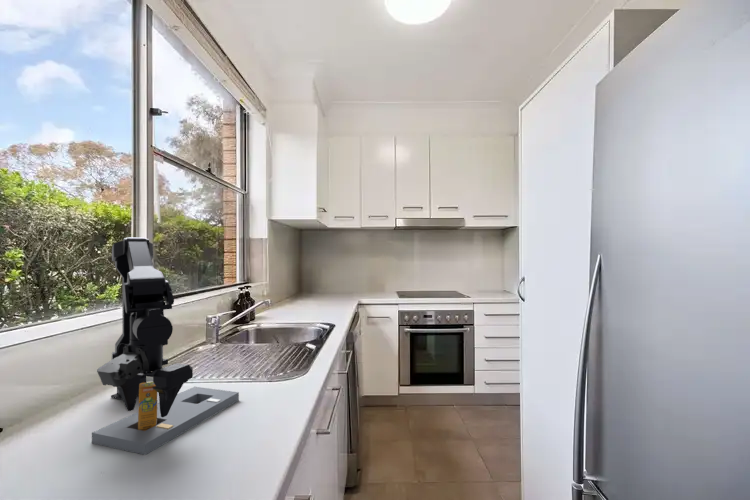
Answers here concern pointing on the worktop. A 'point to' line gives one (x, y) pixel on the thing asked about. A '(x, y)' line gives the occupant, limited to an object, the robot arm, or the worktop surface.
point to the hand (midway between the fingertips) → (147, 413)
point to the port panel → (165, 421)
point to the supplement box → (147, 406)
